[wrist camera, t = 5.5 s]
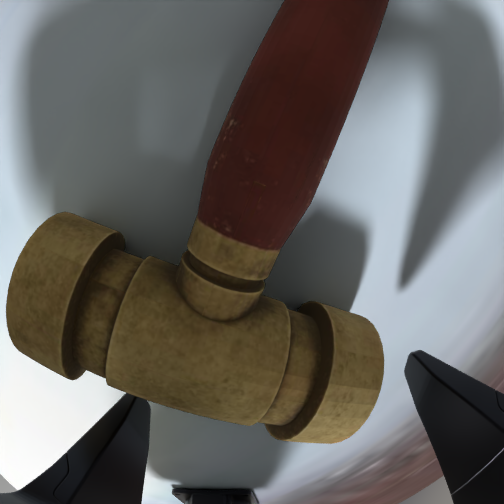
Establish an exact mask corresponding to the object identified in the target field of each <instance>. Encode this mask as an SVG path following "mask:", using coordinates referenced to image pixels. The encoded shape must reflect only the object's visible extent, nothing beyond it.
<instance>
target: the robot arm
mask: <svg viewBox="0 0 504 504" xmlns="http://www.w3.org/2000/svg"><path fill="white" fill-rule="evenodd" d="M404 373H405V377H406V380H407V383H408V386H409V388H410V391H411V394H412V397H413V400H414V404H415V406H416V409H417V412H418V414H419V416H420V418H421V421H422V423H423V425H424V427H425V430H426V432H427V434H428V437H429V439H430V441H431V444H432V446H433V449H434V451H435V453H436V456H437V458H438V461H439V464H440V466H441V469H442V471H443V474H444V477H445V479H446V482H447V485H448V488H449V490H450V493H451V496H452V500H453V503H454V504H504V394H503V393H501V392H499V391H497V390H496V391H495V389H493V388H491V387H489V386H487V385H486V384H484V383H482V382H480V381H478V380H476V379H474V378H472V377H471V376H469V375H467V374H465V373H463V372H461V371H459V370H457V369H456V368H454V367H452V366H450V365H448V364H446V363H444V362H442V361H441V360H439V359H437V358H435V357H433V356H431V355H429V354H428V353H426V352H424V351H422V350H417V351H414V352H411V353H410V354H409V356H408V359H407V363H406V366H405V370H404ZM150 414H151V409H150V405H149V403H148V401H147V400H145V399H143V398H140V397H137V396H134V395H131V394H129V393H126V394H125V395H124V396H123V397H122V398H121V399H120V400H119V401H118V402H117V403H116V404H115V405H114V406H113V407H112V408H111V409H110V410H109V411H108V412H107V413H106V414H105V415H104V416H103V417H102V418H101V419H100V420H99V421H98V422H97V423H96V424H95V425H94V426H93V427H92V428H90V429H89V430H88V431H87V432H86V433H85V434H84V435H83V436H82V437H81V438H80V439H79V440H78V441H77V442H76V443H75V444H74V445H73V446H72V447H71V448H70V449H69V450H68V451H67V453H65V454H64V455H63V456H62V457H61V458H60V459H59V460H58V461H56V462H55V463H54V464H53V465H52V466H51V467H50V468H48V469H47V470H46V471H45V472H44V473H42V474H41V475H40V476H38V477H37V478H36V479H34V480H33V481H32V482H30V483H29V484H28V485H26V486H25V487H23V488H22V489H20V490H18V491H16V492H12V493H0V504H141V501H142V493H143V485H144V478H145V470H146V463H147V457H148V450H149V433H150ZM172 494H173V495H174V496H175V497H176V498H178V499H179V500H180V501H181V502H183V503H184V504H258V503H257V501H256V499H255V497H254V495H253V493H252V491H251V490H228V491H208V490H185V489H172Z"/></svg>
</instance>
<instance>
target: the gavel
mask: <svg viewBox="0 0 504 504" xmlns="http://www.w3.org/2000/svg"><path fill="white" fill-rule="evenodd" d="M388 2H389V0H285V1H284V2H283V4H282V6H281V8H280V9H279V11H278V13H277V15H276V17H275V18H274V20H273V22H272V24H271V26H270V28H269V29H268V31H267V33H266V35H265V37H264V39H263V41H262V43H261V45H260V47H259V49H258V51H257V53H256V55H255V56H254V59H253V61H252V63H251V65H250V67H249V69H248V71H247V73H246V75H245V77H244V79H243V81H242V83H241V85H240V88H239V90H238V92H237V94H236V96H235V99H234V101H233V103H232V105H231V107H230V110H229V112H228V114H227V117H226V119H225V121H224V123H223V126H222V128H221V131H220V133H219V135H218V138H217V140H216V143H215V145H214V147H213V150H212V152H211V155H210V157H209V160H208V163H207V168H206V173H205V178H204V183H203V188H202V193H201V198H200V203H199V209H198V214H197V217H196V220H195V223H194V226H193V228H192V231H191V234H190V237H189V240H188V243H187V247H188V250H187V251H185V252H184V253H183V254H182V257H181V260H180V263H179V266H177V265H174V264H171V263H168V262H166V261H163V260H160V259H158V258H155V257H152V256H148V257H147V258H146V259H145V260H144V259H142V258H139V257H136V256H134V255H131V254H129V253H126V252H124V247H125V239H124V236H123V235H122V234H121V233H120V232H118V231H115V230H113V229H110V228H108V227H105V226H103V225H100V224H97V223H95V222H92V221H90V220H87V219H85V218H82V217H80V216H77V215H75V214H72V213H68V212H62V213H58V214H56V215H54V216H52V217H50V218H48V219H47V220H46V221H45V222H44V223H43V224H42V225H40V226H39V227H38V228H37V230H36V231H35V232H34V233H33V235H32V236H31V237H30V238H29V240H28V241H27V243H26V245H25V246H24V248H23V250H22V252H21V253H20V255H19V257H18V260H17V262H16V265H15V267H14V270H13V272H12V276H11V280H10V284H9V288H8V295H7V304H6V319H7V327H8V331H9V336H10V338H11V340H12V342H13V344H14V346H15V347H16V348H17V349H18V350H19V351H20V352H21V353H23V354H25V355H26V356H28V357H30V358H31V359H33V360H35V361H36V362H38V363H40V364H41V365H43V366H45V367H47V368H48V369H50V370H52V371H54V372H56V373H58V374H60V375H62V376H63V377H65V378H67V379H70V380H75V379H78V378H79V377H80V376H82V375H83V373H84V372H85V371H86V370H87V371H90V372H92V373H94V374H96V375H99V376H101V377H103V378H106V382H107V385H108V386H111V387H113V388H116V389H118V390H121V391H123V392H126V393H129V394H131V395H134V396H137V397H140V398H143V399H145V400H148V401H151V402H154V403H158V404H161V405H164V406H167V407H170V408H174V409H177V410H181V411H184V412H188V413H192V414H196V415H200V416H204V417H208V418H212V419H216V420H221V421H226V422H231V423H236V424H241V425H247V426H250V425H253V424H255V423H257V422H260V423H264V424H265V426H266V429H267V431H268V432H269V433H270V435H271V436H272V437H274V438H275V439H278V440H282V441H292V442H306V443H330V444H332V443H337V442H341V441H343V440H345V439H347V438H349V437H350V436H352V435H353V434H354V433H355V432H356V431H358V430H359V429H360V428H361V426H362V425H363V424H364V423H365V421H366V420H367V419H368V417H369V415H370V414H371V412H372V410H373V408H374V406H375V404H376V401H377V399H378V396H379V393H380V390H381V385H382V380H383V375H384V354H383V346H382V343H381V340H380V336H379V334H378V332H377V330H376V328H375V327H374V325H373V324H372V323H371V322H370V321H369V320H368V319H366V318H364V317H362V316H360V315H357V314H354V313H350V312H347V311H344V310H341V309H338V308H335V307H331V306H328V305H325V304H322V303H319V302H316V301H309V302H306V303H304V304H302V306H301V307H300V308H299V310H298V311H297V312H296V311H293V310H290V309H287V307H286V305H285V304H284V303H283V302H281V301H279V300H276V299H273V298H269V297H266V296H263V295H261V294H262V292H263V290H264V288H265V282H264V280H263V279H266V278H268V276H269V274H270V272H271V270H272V267H273V265H274V263H275V261H276V258H277V256H278V254H279V252H280V250H281V248H282V246H283V245H284V243H285V242H286V240H287V239H288V237H289V236H290V234H291V233H292V231H293V230H294V228H295V227H296V225H297V224H298V222H299V221H300V219H301V218H302V216H303V214H304V213H305V211H306V210H307V208H308V207H309V205H310V204H311V202H312V199H313V197H314V195H315V192H316V190H317V188H318V185H319V183H320V181H321V178H322V176H323V174H324V171H325V169H326V167H327V164H328V162H329V159H330V157H331V155H332V152H333V150H334V147H335V145H336V142H337V140H338V137H339V135H340V132H341V130H342V127H343V125H344V122H345V120H346V117H347V115H348V112H349V110H350V107H351V105H352V102H353V100H354V97H355V94H356V92H357V89H358V87H359V84H360V81H361V79H362V76H363V73H364V71H365V68H366V65H367V63H368V60H369V57H370V54H371V52H372V49H373V46H374V43H375V40H376V38H377V35H378V32H379V29H380V26H381V23H382V20H383V17H384V14H385V11H386V8H387V5H388Z"/></svg>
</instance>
